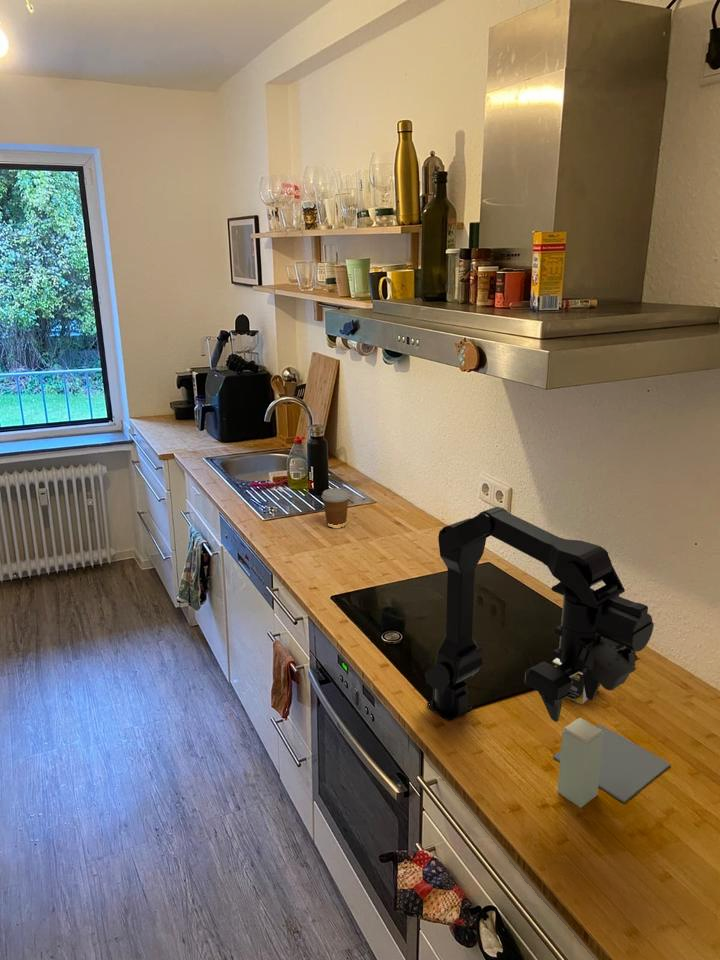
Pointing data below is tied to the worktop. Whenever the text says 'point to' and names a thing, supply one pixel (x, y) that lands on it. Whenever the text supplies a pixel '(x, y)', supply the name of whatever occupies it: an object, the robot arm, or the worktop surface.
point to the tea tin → (580, 762)
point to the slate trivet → (625, 766)
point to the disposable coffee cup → (336, 505)
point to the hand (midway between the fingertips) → (572, 709)
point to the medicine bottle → (575, 686)
